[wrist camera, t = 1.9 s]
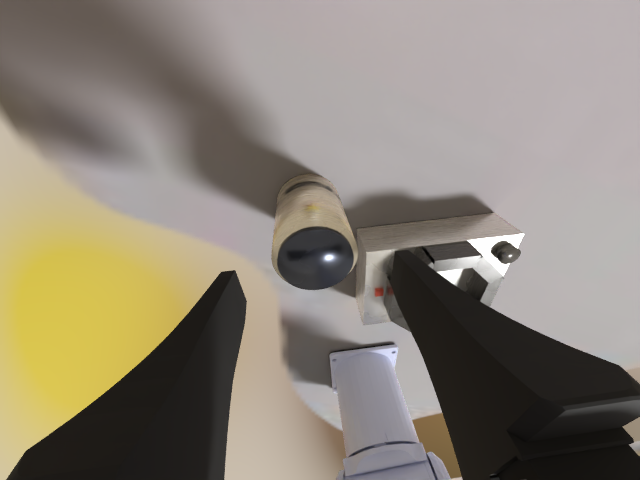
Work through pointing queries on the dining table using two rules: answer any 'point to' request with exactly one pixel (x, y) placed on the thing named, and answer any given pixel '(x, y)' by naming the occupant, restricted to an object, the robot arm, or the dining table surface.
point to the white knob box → (434, 259)
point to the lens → (312, 234)
